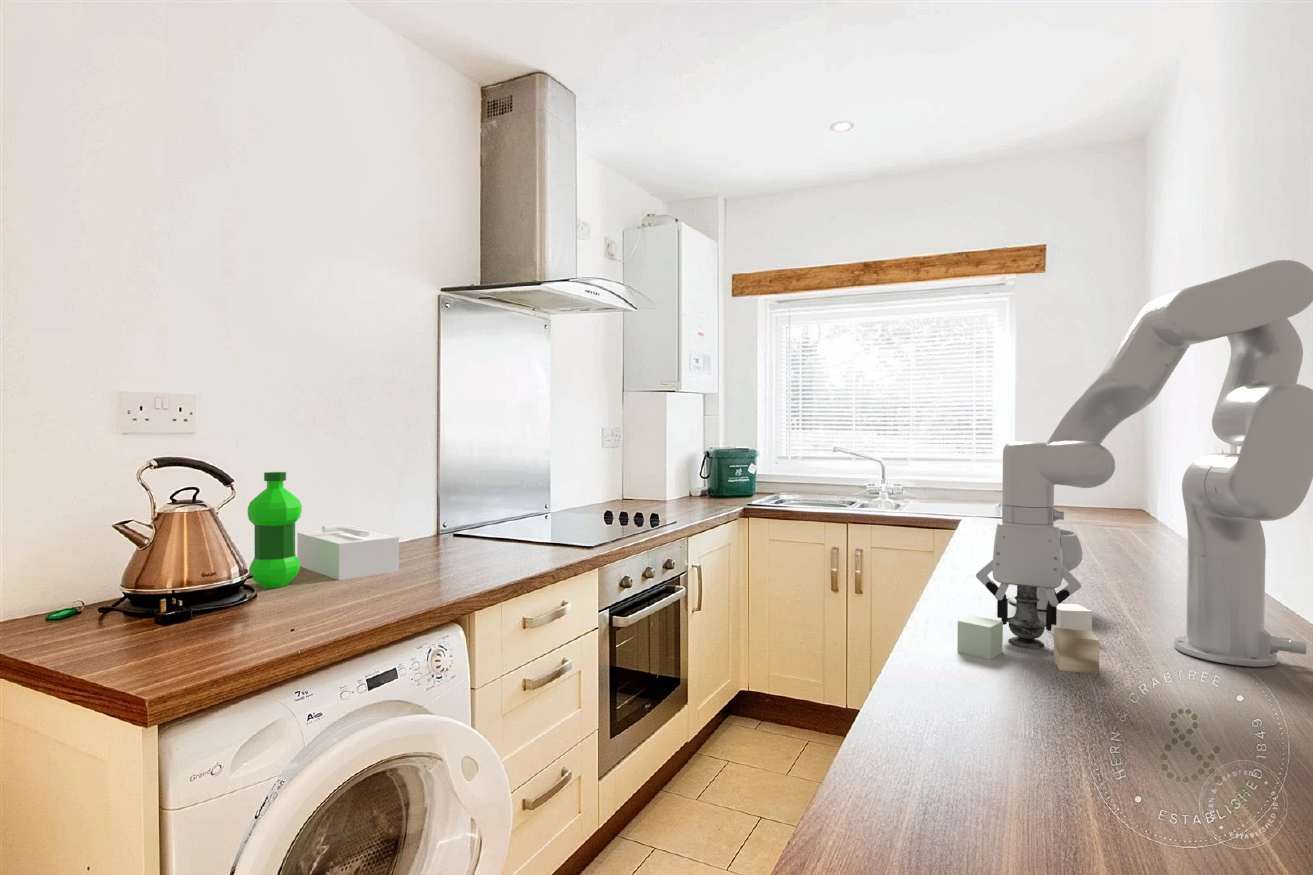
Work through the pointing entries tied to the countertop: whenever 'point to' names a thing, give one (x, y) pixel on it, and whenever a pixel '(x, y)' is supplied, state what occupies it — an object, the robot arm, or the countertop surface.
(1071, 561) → the chalice
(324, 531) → the tissue box
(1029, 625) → the salt shaker
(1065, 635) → the beech cube
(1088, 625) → the cream painted cube
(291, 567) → the plastic bottle
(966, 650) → the sage painted cube
